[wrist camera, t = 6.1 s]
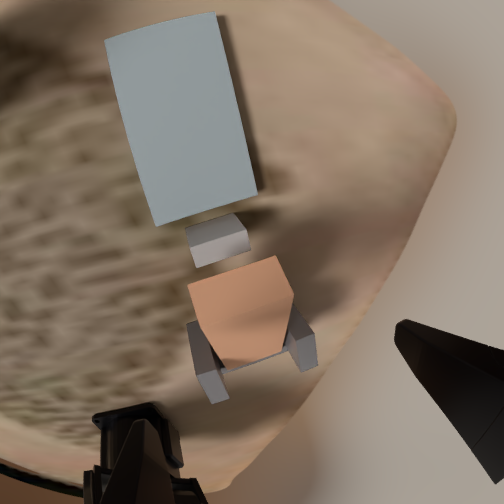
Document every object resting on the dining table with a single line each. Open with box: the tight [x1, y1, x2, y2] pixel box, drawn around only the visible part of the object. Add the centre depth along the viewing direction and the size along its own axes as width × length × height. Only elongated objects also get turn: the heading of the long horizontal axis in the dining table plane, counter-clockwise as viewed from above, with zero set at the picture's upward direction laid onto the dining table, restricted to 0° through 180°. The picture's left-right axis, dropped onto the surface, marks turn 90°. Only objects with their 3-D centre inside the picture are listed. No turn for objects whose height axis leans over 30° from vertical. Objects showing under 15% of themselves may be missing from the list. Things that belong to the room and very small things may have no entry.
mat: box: [104, 12, 258, 227], centre depth 15 cm, size 6×11×1 cm, turn 13°
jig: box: [185, 213, 318, 404], centre depth 18 cm, size 7×10×5 cm
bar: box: [188, 255, 294, 370], centre depth 17 cm, size 4×10×2 cm
